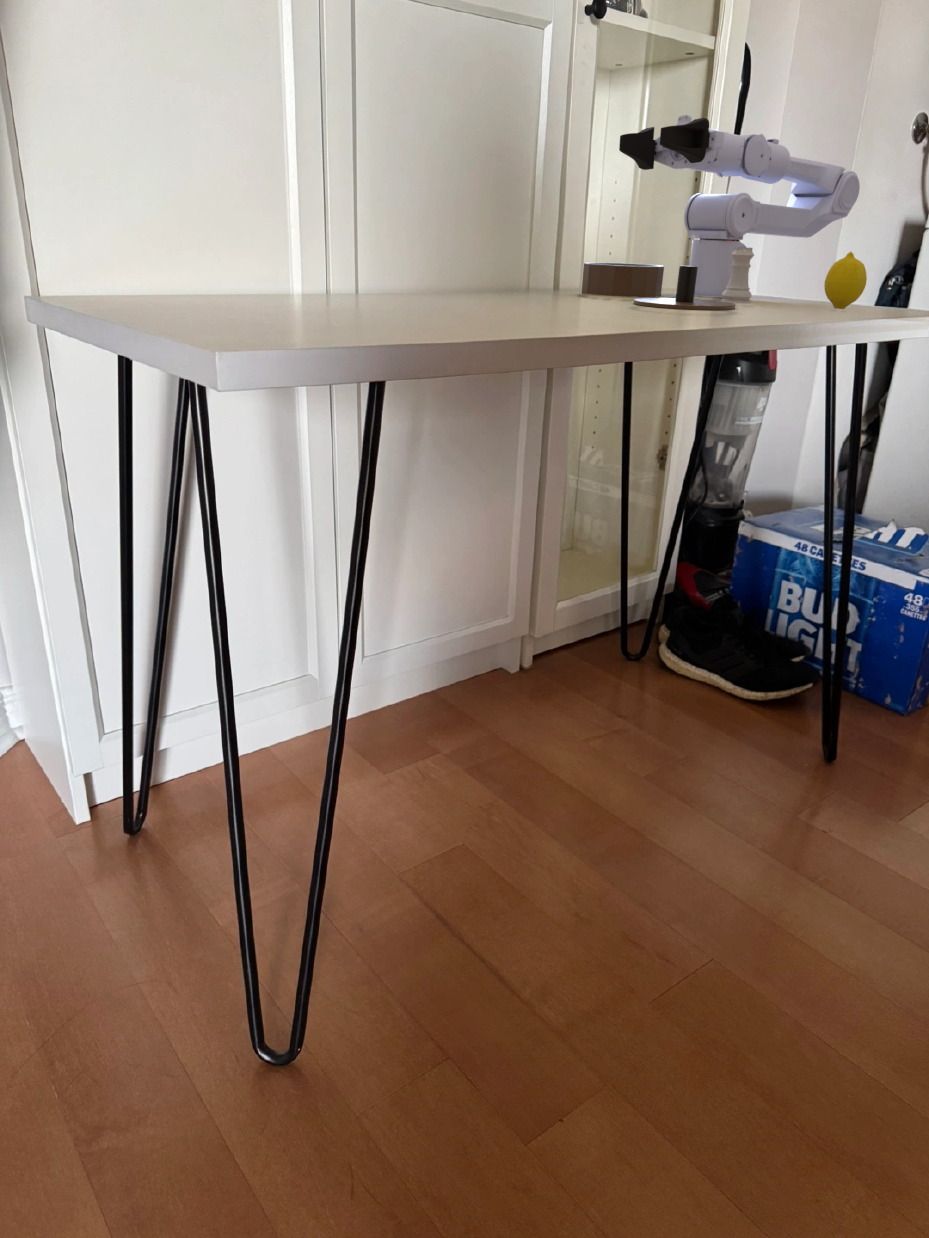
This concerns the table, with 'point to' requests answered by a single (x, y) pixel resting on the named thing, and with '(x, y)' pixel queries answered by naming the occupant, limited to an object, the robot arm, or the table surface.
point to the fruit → (845, 281)
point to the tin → (622, 279)
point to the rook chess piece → (739, 277)
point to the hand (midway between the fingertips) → (641, 139)
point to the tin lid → (685, 295)
